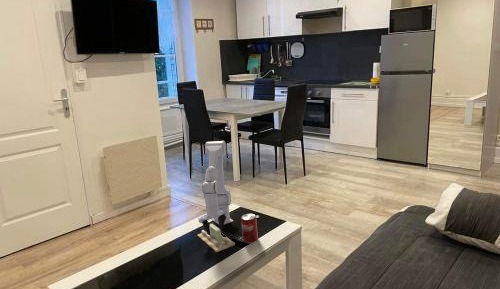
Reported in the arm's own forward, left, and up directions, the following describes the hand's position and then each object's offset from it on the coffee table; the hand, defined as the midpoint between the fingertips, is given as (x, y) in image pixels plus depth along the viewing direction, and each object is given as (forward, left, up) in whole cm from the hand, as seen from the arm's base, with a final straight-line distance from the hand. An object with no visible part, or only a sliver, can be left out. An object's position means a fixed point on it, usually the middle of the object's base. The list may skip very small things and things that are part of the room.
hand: (214, 232), depth 176 cm
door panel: (0, 0, -4) cm, 4 cm away
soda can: (+11, +13, -5) cm, 18 cm away
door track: (0, 0, -4) cm, 4 cm away
